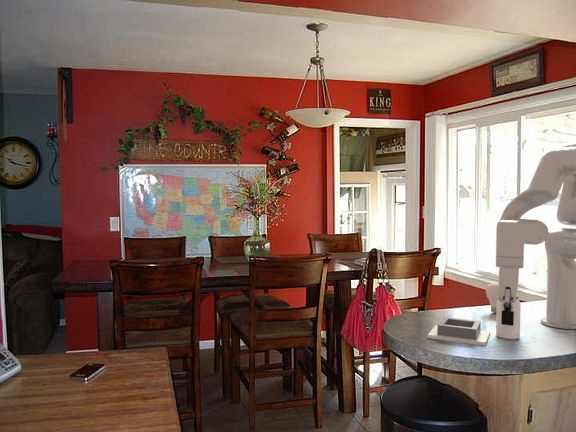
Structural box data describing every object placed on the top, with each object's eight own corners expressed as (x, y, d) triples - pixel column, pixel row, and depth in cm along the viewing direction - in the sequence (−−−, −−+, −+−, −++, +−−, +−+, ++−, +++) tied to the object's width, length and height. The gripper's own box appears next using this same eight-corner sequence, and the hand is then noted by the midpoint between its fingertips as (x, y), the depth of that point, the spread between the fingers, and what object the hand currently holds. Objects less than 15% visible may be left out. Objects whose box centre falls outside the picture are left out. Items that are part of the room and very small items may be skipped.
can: (492, 334, 151) (492, 295, 150) (512, 333, 151) (513, 294, 151) (502, 340, 144) (503, 299, 144) (524, 340, 145) (525, 299, 144)
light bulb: (481, 311, 180) (481, 281, 180) (496, 310, 182) (496, 280, 182) (493, 316, 174) (494, 284, 173) (509, 314, 176) (509, 283, 175)
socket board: (490, 334, 150) (490, 321, 150) (485, 345, 139) (485, 331, 139) (435, 327, 158) (436, 315, 157) (427, 338, 146) (427, 324, 146)
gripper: (498, 258, 156) (496, 314, 157) (493, 264, 141) (491, 327, 141) (524, 259, 153) (523, 317, 153) (522, 266, 137) (520, 330, 138)
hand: (508, 321), depth 147 cm, fingers closed on can, 6 cm apart
